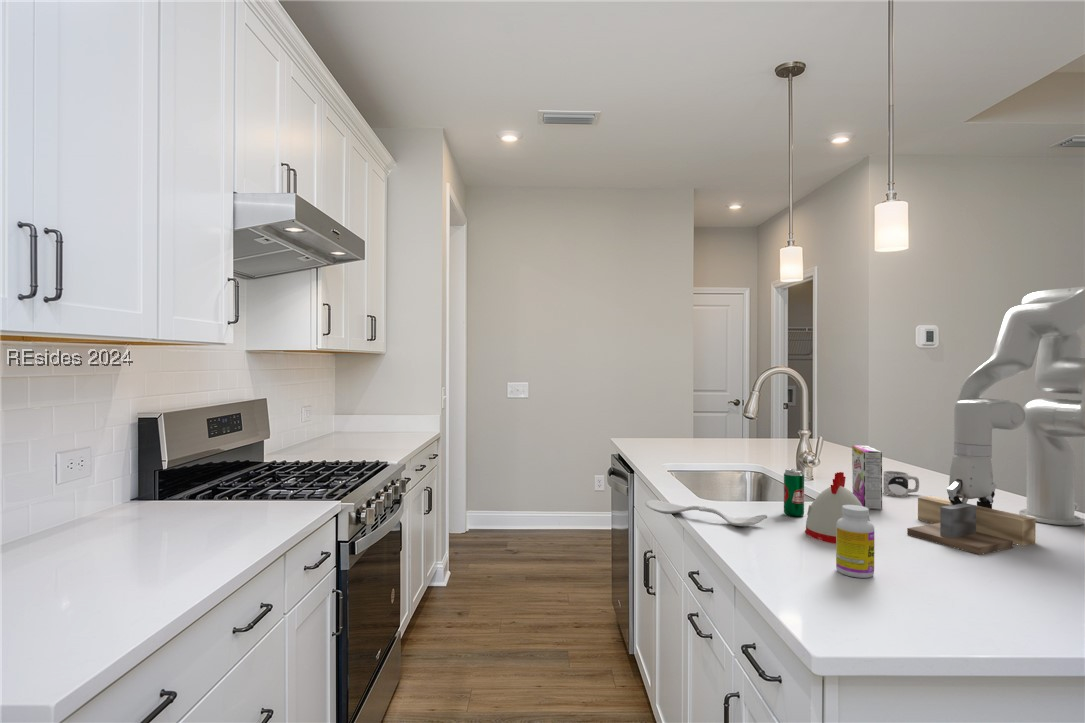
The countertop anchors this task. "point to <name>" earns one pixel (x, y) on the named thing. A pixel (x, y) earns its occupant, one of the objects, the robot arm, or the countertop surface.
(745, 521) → the spoon
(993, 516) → the oak beam
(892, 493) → the mug
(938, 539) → the walnut stand
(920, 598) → the countertop surface
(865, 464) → the candy bar box
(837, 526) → the supplement bottle
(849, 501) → the kitchen timer
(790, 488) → the soda can
